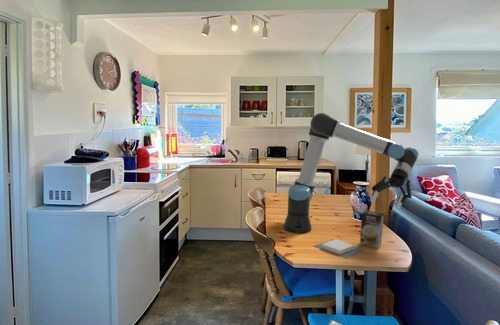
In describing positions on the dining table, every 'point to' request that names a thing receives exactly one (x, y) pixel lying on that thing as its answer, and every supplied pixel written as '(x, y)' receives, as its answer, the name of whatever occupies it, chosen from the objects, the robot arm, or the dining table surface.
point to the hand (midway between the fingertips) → (384, 204)
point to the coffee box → (371, 229)
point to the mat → (345, 255)
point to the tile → (337, 246)
